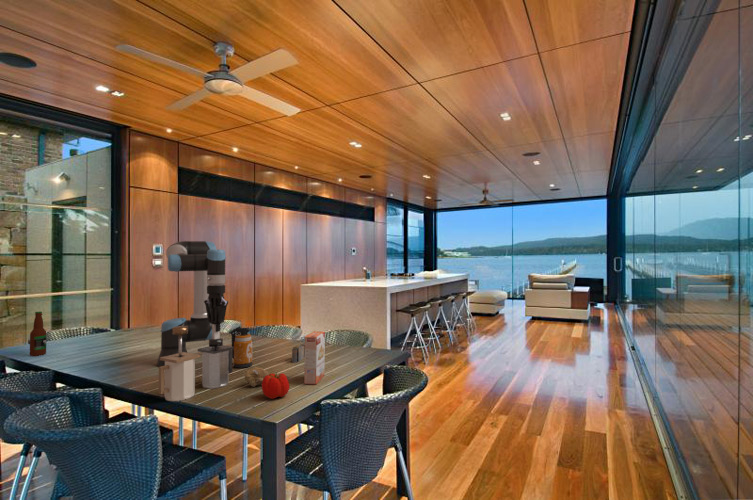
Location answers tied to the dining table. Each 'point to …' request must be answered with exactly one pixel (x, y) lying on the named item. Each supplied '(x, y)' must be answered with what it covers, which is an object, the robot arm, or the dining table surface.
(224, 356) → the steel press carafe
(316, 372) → the cracker box
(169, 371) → the ceramic press carafe
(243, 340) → the canister
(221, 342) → the steel plunger
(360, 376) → the dining table surface
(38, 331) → the bottle
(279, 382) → the tomato
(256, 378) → the seashell
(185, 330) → the brass press plunger
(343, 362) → the dining table surface
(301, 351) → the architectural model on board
